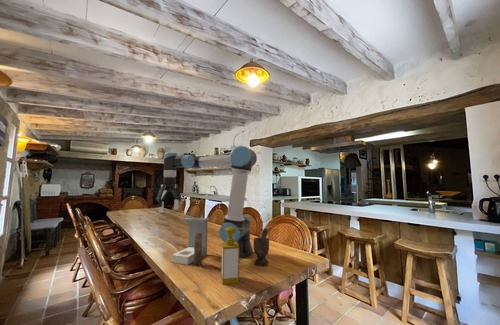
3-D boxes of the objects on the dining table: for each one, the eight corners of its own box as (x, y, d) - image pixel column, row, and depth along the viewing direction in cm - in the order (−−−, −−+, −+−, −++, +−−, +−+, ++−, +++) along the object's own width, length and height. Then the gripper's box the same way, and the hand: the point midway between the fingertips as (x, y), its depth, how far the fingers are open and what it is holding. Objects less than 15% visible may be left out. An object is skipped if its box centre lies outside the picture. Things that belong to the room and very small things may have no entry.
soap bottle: (251, 281, 95) (251, 227, 97) (222, 284, 92) (223, 228, 94) (247, 274, 102) (248, 224, 104) (221, 277, 99) (222, 225, 101)
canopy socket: (208, 254, 130) (208, 218, 132) (190, 265, 113) (191, 223, 115) (188, 251, 135) (189, 217, 137) (169, 261, 118) (170, 222, 120)
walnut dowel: (203, 263, 115) (203, 233, 117) (198, 266, 112) (199, 235, 113) (196, 262, 117) (197, 232, 118) (192, 265, 113) (193, 234, 114)
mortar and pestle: (276, 266, 112) (276, 227, 114) (264, 270, 107) (264, 229, 109) (262, 259, 122) (262, 224, 123) (250, 263, 117) (250, 225, 118)
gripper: (177, 177, 149) (177, 208, 147) (149, 176, 125) (148, 213, 123) (186, 177, 146) (186, 208, 144) (160, 176, 123) (159, 214, 121)
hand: (169, 211), depth 134 cm, fingers open, 13 cm apart
